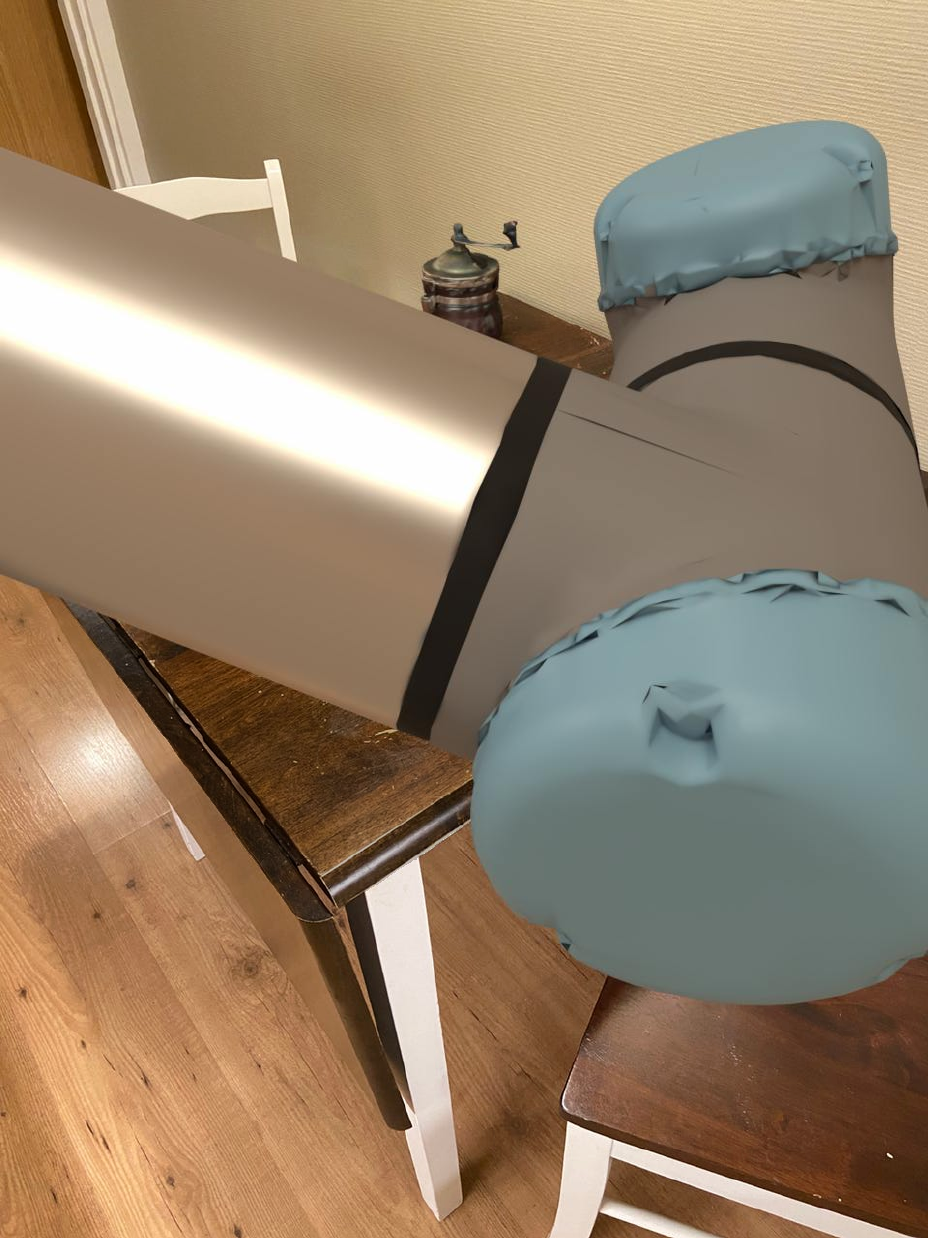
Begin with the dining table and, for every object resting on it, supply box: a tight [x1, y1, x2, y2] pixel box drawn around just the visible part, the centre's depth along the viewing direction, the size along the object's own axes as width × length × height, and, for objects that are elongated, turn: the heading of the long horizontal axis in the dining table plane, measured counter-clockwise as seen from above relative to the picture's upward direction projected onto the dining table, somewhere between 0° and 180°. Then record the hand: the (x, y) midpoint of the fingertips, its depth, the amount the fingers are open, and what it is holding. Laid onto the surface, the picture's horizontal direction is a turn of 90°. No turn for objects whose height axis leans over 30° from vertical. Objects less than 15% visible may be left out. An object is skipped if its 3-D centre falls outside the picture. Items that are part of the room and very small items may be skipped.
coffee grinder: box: [420, 220, 521, 341], centre depth 113 cm, size 13×15×18 cm
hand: (353, 455), depth 54 cm, fingers open, 13 cm apart
